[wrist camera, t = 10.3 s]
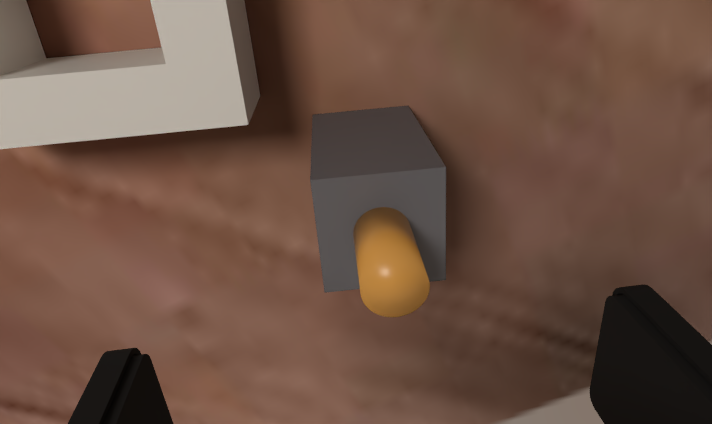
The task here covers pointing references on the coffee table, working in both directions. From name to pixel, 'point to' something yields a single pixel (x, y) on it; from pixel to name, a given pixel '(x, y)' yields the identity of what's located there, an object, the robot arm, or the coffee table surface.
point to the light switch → (129, 78)
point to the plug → (378, 207)
